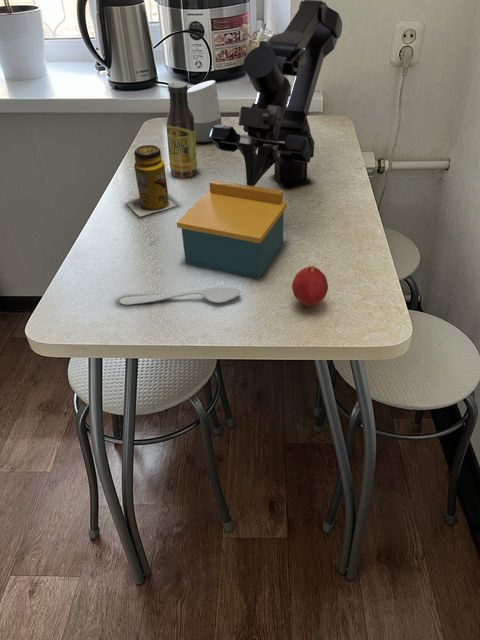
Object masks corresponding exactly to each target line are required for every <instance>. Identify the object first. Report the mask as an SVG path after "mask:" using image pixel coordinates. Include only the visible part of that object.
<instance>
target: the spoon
mask: <svg viewBox="0 0 480 640" xmlns="http://www.w3.org/2000/svg"><path fill="white" fill-rule="evenodd" d="M241 293H242V290H241V289H240V288H239V287H231V286H230V287H228V286H227V287H211V288H210V287H209V288H205V289H197V290H191V291H184V292H174V293H160V294H150V295H148V294H147V295H134V296H124V297H123V298H121V299H119V301H118V302H119V303H120V304H121V305H126V306H130V305H131V306H132V305H141V304H147V303H148V304H149V303H155V302H159V301H165V300H169V299H172V298H178V297H185V296H192V295H200V296H202V297H204V299H206V300H207V301H209V302H211V303H216V304H217V303H218V304H221V303H225V302H228V301H231V300H233V299H235V298H237V297H238V296H239V295H240V294H241Z"/></svg>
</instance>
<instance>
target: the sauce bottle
mask: <svg viewBox="0 0 480 640" xmlns="http://www.w3.org/2000/svg"><path fill="white" fill-rule="evenodd" d="M188 89H189V87H188V83H186V82H184V81H179V80H178V81H170V82H169V83H168V84H167V90H168V93H169V110H168V113H167V118H166V124H165V125H166V127H165V128H166V137H167V138H166V139H167V149H168V151H167V152H168V160H169V161H168V162H169V169H170V172H171V175H172V176H174V177H176V178H181V179H182V178H184V179H185V178H190V177H192V176H194V175H195V174H196V173H197V168H198V157H197V142H196V140H195V128H194V117H193V114H192V112H191V110H190V109H189V107H188V102H187V91H188Z"/></svg>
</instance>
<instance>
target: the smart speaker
mask: <svg viewBox="0 0 480 640" xmlns="http://www.w3.org/2000/svg"><path fill="white" fill-rule="evenodd" d="M187 102H188V107H189V109H190V110H191V112H192V114H193V117H194V128H195V140H196V143H197V144H198V143H199V144H208V143H213V141H212V140H211V139H210V138H209V137H210V133H211V129H212V128H213V127H214V126H215V125H223V124H222V114H221V109H220V102H219V96H218V89H217V83H216V80H215V79H212V80H207V81H203V82H200V83H197V84H195V85H192V86H190V87H188V91H187Z"/></svg>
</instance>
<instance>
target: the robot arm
mask: <svg viewBox="0 0 480 640" xmlns="http://www.w3.org/2000/svg"><path fill="white" fill-rule="evenodd" d="M342 30H343V20H342V18H341V15H340V14H339V12H337V11H336V10H334V9H332V8H331V7H329V6H328V4H327V2H325V1H323V0H301V1H300V2H299V6H298V10H297V11H296V13H295V14H294V16H293V18H292V19H291V20H290V22H289V23H288V25H287V26H286V28H285V29H284V30H283V32H280V33H276V34H273V35H272V36H271V37H270V38H269V39H268V40H267V41H266V40H259V44H258V46H257V47H254V48H253V49H251V50H250V51H249V52H248V53H247V54H246V56H245V57H244V59H243V69H244V72H245V73H246V75H247V78H248V79H249V82H250V83H251V85H252V87H253V89H254V90H255V91H256V92H257V95H256V99H255V103H252V104H251V106H250V107H249V106H243V105H242V106H240V107H239V116H238V126H240V127H241V126H242V130H243V132H245V133H247V134H242V133H237V131H236V129H235V128H234V127H233V126H231V125H223V124H222V125H215V126H214V127H213V128H212V129H211V133H210V137H209V138H210V139H211V140H212V143H213V144H214V146H215V147H216V148H217V149H218V150H220V151H223V152H231V153H235V152H236V151H238V150H239V152H240V154H241V155H242V156H243V159H244V165H245V176H246V185H249V186H255V187H256V185H257V184H258V182H259V181H260V180H261V179H262V178H263V176H264V175H265V174H266V172H268V171H269V169H270V168H272V166H273V165H274V174H273V175H272V179H273V180H275V181H276V182H278V184H279V185H281V186H282V187H283V188H284V189H289V188H294V187H297V186H301V185H305V184H306V185H307V184H310V183H311V179H310V178H309V177H308V163H310V162H311V158H314V154H315V139H314V138H313V135H312V133H311V128H310V124H309V121H308V115H309V110H310V107H311V104H312V100H313V97H314V94H315V90H316V88H317V87H316V86H317V84H318V81H319V80H318V79H319V76H320V73H321V70H322V66H323V63H324V59H325V58H326V57H327V56H328V55H329V54H330V53H332V51H334V50H335V47H336V45H337V43H338V39H340V38H341V36H342ZM286 76H290V77H295V79H294V81H293V85H292V86H291V83H290V81H289V79H288V78H287V77H286Z"/></svg>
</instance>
